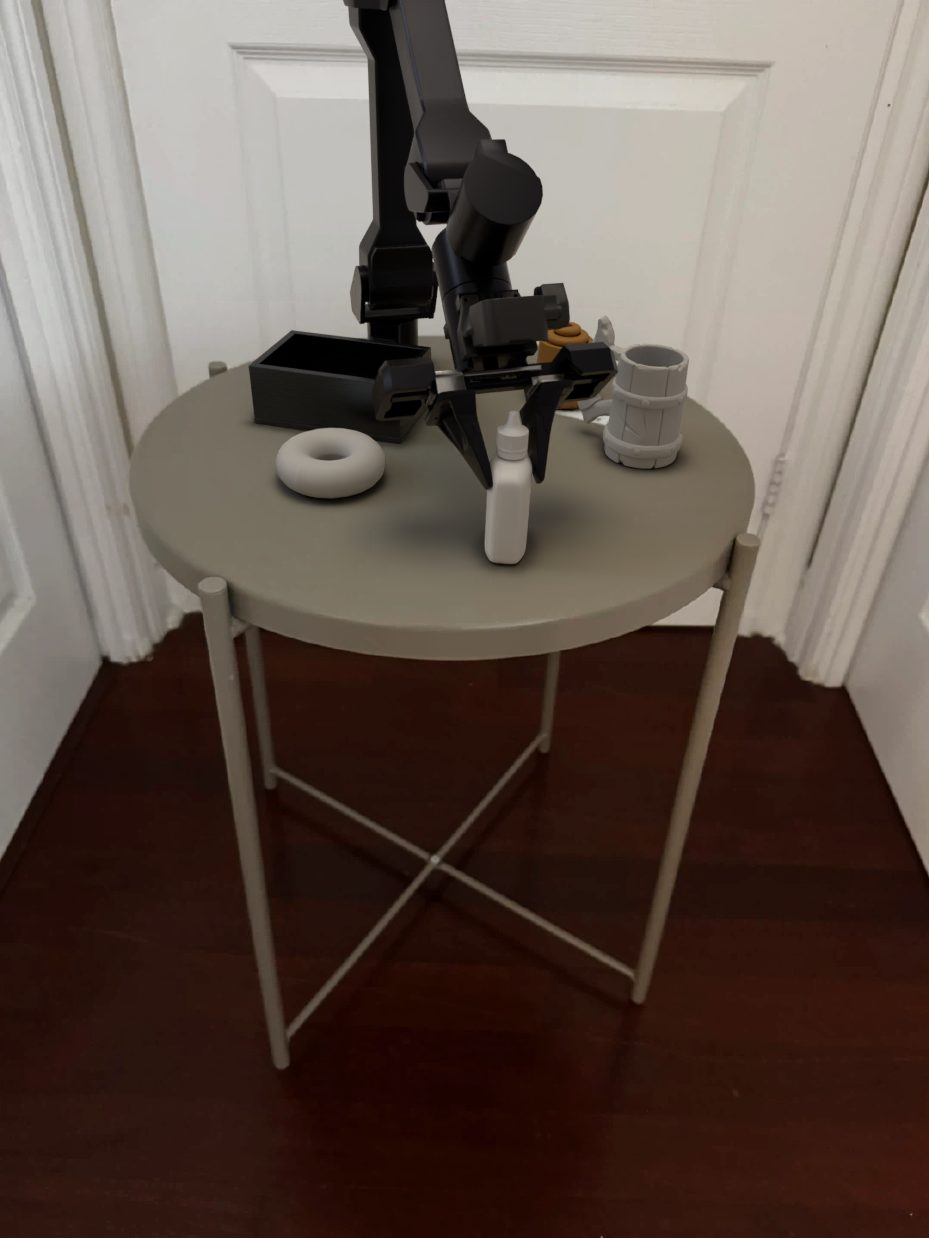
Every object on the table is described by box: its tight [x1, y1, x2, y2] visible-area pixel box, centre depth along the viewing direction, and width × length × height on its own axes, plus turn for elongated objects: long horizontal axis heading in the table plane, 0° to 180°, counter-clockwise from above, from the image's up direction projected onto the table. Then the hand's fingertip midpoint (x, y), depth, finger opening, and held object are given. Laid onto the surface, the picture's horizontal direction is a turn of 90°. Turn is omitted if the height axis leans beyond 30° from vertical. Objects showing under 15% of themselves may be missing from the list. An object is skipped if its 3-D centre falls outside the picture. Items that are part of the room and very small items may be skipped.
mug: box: [578, 315, 690, 470], centre depth 90 cm, size 8×12×12 cm, turn 48°
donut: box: [274, 428, 387, 499], centre depth 86 cm, size 10×4×10 cm
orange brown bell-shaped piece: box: [536, 321, 594, 410], centre depth 100 cm, size 8×8×8 cm
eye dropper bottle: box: [484, 410, 533, 565], centre depth 74 cm, size 4×6×12 cm
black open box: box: [248, 329, 432, 445], centre depth 96 cm, size 11×16×6 cm
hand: (514, 485), depth 73 cm, fingers closed on eye dropper bottle, 4 cm apart
